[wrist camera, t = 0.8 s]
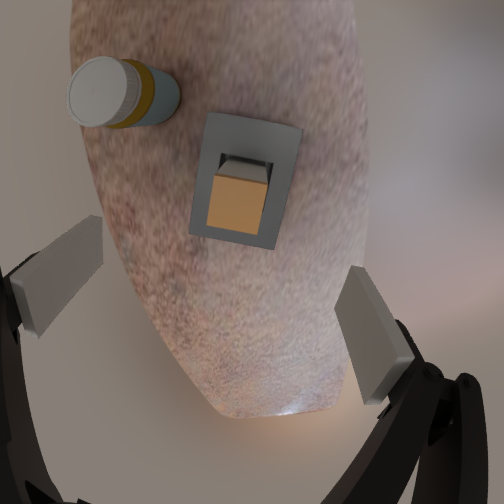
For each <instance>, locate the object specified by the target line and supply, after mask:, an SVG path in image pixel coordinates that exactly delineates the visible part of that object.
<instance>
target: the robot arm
mask: <svg viewBox="0 0 504 504" xmlns="http://www.w3.org/2000/svg"><path fill="white" fill-rule="evenodd" d="M102 264H103V239H102V217H98V216H93V215H90V216H88V217H87V218H86V219H84V220H83V221H81V222H80V223H78V224H77V225H75V226H74V227H73V228H71V229H70V230H68V231H67V232H66V233H64V234H63V235H61V236H60V237H59V238H57V239H56V240H55V241H53V242H52V243H51V244H50V245H48V246H47V247H46V248H44V249H43V250H41V251H39V252H37V253H34V254H32V255H30V256H29V257H28V258H27V259H25V261H23V262H22V263H20V264H19V266H17V267H15V268H14V269H13V270H12V271H11V272H9V273H8V274H7V275H6V276H5V277H4V278H3V276H2V272H1V268H0V504H90V503H87V502H85V501H83V500H81V499H78V501H77V503H71V502H63V499H62V498H61V495H60V493H59V492H58V490H57V488H56V487H55V485H54V484H53V482H52V481H51V479H50V477H49V475H48V472H47V469H46V466H45V463H44V460H43V457H42V455H41V451H40V447H39V444H38V440H37V437H36V433H35V429H34V425H33V421H32V417H31V412H30V408H29V402H28V397H27V392H26V386H25V379H24V372H23V365H22V355H21V344H20V333H19V330H18V327H19V325H20V324H21V323H23V326H24V329H25V332H26V334H28V335H31V336H33V337H35V338H37V339H39V338H40V336H42V334H43V333H44V332H45V330H46V329H47V328H48V327H49V325H50V324H51V323H52V321H53V320H54V319H55V318H56V317H57V316H58V314H59V313H60V312H61V311H62V310H63V308H64V307H65V306H66V305H67V303H68V302H69V301H70V300H71V299H72V298H73V297H74V295H75V294H76V293H77V292H78V291H79V290H80V288H81V287H82V286H83V285H84V284H85V283H86V282H87V281H88V280H89V278H90V277H91V276H92V275H93V274H94V273H95V272H96V271H97V269H99V268H100V267H101V265H102ZM334 309H335V312H336V315H337V318H338V321H339V324H340V327H341V330H342V333H343V336H344V339H345V342H346V345H347V349H348V352H349V355H350V358H351V361H352V365H353V368H354V371H355V374H356V378H357V381H358V384H359V388H360V391H361V395H362V399H363V402H364V404H365V405H371V404H375V405H376V404H380V403H382V401H383V400H384V399H385V398H386V396H387V395H388V398H389V400H390V403H389V404H388V405H387V407H386V408H385V409H384V410H383V411H382V412H381V414H380V415H379V416H378V417H377V418H378V419H379V420H378V422H377V424H376V426H375V427H374V429H373V431H372V432H371V434H370V435H369V437H368V439H367V440H366V442H365V443H364V445H363V447H362V448H361V450H360V451H359V453H358V454H357V456H356V457H355V459H354V460H353V461H352V463H351V464H350V466H349V467H348V469H347V470H346V471H345V473H344V474H343V476H342V477H341V478H340V480H339V481H338V483H337V484H336V485H335V486H334V487H333V489H332V490H331V491H330V493H329V494H328V495H327V496H326V498H325V499H324V500H323V501H322V502H321V504H397V503H398V501H399V499H400V497H401V495H402V493H403V491H404V489H405V487H406V485H407V483H408V481H409V479H410V477H411V475H412V473H413V470H414V468H415V465H416V463H417V461H418V459H419V465H418V472H417V477H416V483H415V487H414V492H413V497H412V502H411V504H487V498H488V447H487V433H486V422H485V413H484V406H483V399H482V393H481V387H480V384H479V382H478V381H477V379H476V378H475V377H474V376H472V375H470V374H468V373H461V374H460V375H459V376H458V378H457V379H456V380H455V381H453V380H450V379H446V378H444V376H443V373H442V372H441V370H440V369H439V368H438V367H437V366H435V365H434V364H432V363H429V362H425V361H424V359H423V357H422V355H421V354H420V352H419V350H418V348H417V346H416V344H415V343H414V341H413V339H412V337H411V336H410V334H409V332H408V330H407V328H406V327H405V326H404V325H403V324H402V323H401V322H400V321H399V320H396V319H394V317H393V316H392V314H391V312H390V311H389V309H388V307H387V305H386V303H385V302H384V300H383V298H382V296H381V295H380V293H379V292H378V290H377V288H376V286H375V285H374V283H373V282H372V280H371V278H370V276H369V275H368V273H367V272H366V270H365V268H363V267H358V266H353V265H351V268H350V270H349V273H348V275H347V278H346V281H345V283H344V286H343V288H342V291H341V293H340V296H339V298H338V300H337V303H336V305H335V308H334ZM419 456H420V458H419Z"/></svg>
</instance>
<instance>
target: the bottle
mask: <svg viewBox="0 0 504 504" xmlns="http://www.w3.org/2000/svg"><path fill="white" fill-rule="evenodd" d="M180 98H181V94H180V88H179V85H178V83H177V81H176V80H175V79H174V78H173V77H172V76H170V75H169V74H166V73H164V72H162V71H160V70H157V69H155V68H153V67H150V66H148V65H145V64H143V63H140V62H138V61H135V60H130V59H122V60H119V59H116V58H113V57H110V56H99V57H95V58H92V59H90V60H88V61H86V62H85V63H83V64H82V65H81V66H80V67H79V68H78V69H77V70H76V71H75V73H74V74H73V76H72V78H71V80H70V82H69V85H68V88H67V93H66V103H67V108H68V111H69V114H70V115H71V117H72V118H73V119H74V120H75V121H76V122H77V123H78V124H80V125H83V126H87V127H100V126H106V127H108V128H115V129H118V128H128V127H137V126H146V125H154V124H159V123H162V122H164V121H166V120H168V119H169V118H170V117H171V116H172V115H173V114H174V113H175V111H176V110H177V108H178V106H179V103H180Z"/></svg>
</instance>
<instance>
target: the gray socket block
mask: <svg viewBox="0 0 504 504" xmlns="http://www.w3.org/2000/svg"><path fill="white" fill-rule="evenodd" d="M302 133H303V129H299V128H295V127H290V126H286V125H282V124H277V123H272V122H268V121H263V120H258V119H252V118H247V117H242V116H236V115H230V114H223V113H217V112H210V111H208V112H207V117H206V123H205V128H204V134H203V139H202V145H201V151H200V157H199V164H198V170H197V177H196V183H195V190H194V197H193V205H192V212H191V220H190V228H189V234H192V235H197V236H202V237H207V238H213V239H218V240H223V241H228V242H234V243H239V244H244V245H249V246H254V247H260V248H265V249H270V250H274V248H275V244H276V240H277V236H278V233H279V229H280V225H281V221H282V217H283V212H284V208H285V204H286V200H287V196H288V192H289V188H290V184H291V180H292V176H293V171H294V167H295V163H296V159H297V155H298V150H299V146H300V142H301V138H302ZM230 156H237V157H242V158H247V159H253V160H258V161H262V162H265V163H266V172H267V181H268V188H267V192H266V197H265V201H264V206H263V210H262V215H261V219H260V224H259V228H258V233H257V235H255V234H250V233H245V232H239V231H234V230H229V229H224V228H218V227H213V226H208V225H206V224H207V218H208V211H209V205H210V198H211V192H212V186H213V180H214V175H215V174H216V173H217V171H218V170H219V169H220V168H221V167H222V165H223V164H224V163H225V162H226V161H227V159H228V158H229V157H230Z"/></svg>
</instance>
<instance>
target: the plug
mask: <svg viewBox="0 0 504 504" xmlns="http://www.w3.org/2000/svg"><path fill="white" fill-rule="evenodd" d="M267 188H268V181H267V172H266V163H265V162H262V161H258V160H253V159H247V158H242V157H237V156H230V157H229V158H228V159H227V161H226V162H225V163H224V164H223V165H222V167H221V168H220V169H219V170H218V171H217V173H216V174H215V175H214V180H213V186H212V192H211V198H210V205H209V211H208V218H207V224H206V225H208V226H213V227H218V228H224V229H229V230H234V231H239V232H245V233H250V234H255V235H257V233H258V228H259V224H260V219H261V215H262V210H263V206H264V201H265V197H266V192H267Z"/></svg>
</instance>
